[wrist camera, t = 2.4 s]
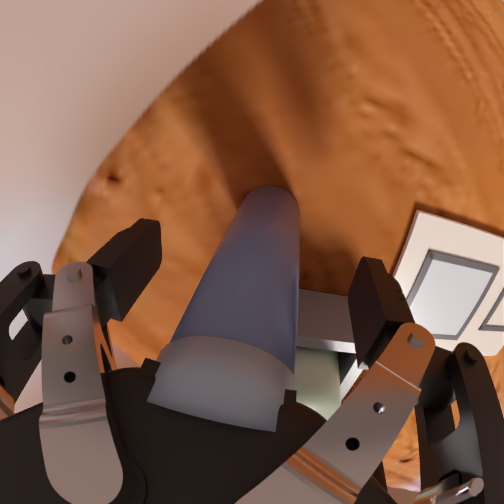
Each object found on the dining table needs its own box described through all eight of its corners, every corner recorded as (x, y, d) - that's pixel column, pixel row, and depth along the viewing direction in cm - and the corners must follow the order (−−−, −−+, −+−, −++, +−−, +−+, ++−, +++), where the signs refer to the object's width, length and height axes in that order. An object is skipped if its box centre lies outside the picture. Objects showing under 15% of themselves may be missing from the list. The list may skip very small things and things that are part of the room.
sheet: (551, 257, 12) (555, 260, 12) (494, 352, 18) (496, 356, 17) (416, 209, 13) (420, 212, 13) (357, 346, 19) (358, 351, 19)
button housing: (366, 299, 17) (377, 345, 13) (334, 365, 20) (336, 407, 17) (259, 281, 17) (249, 327, 14) (248, 352, 21) (238, 394, 17)
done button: (347, 332, 16) (353, 394, 12) (325, 375, 18) (325, 430, 14) (272, 321, 16) (262, 384, 12) (262, 366, 19) (252, 421, 15)
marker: (307, 189, 14) (313, 425, 4) (295, 246, 16) (275, 471, 6) (241, 179, 14) (114, 379, 4) (236, 236, 16) (148, 442, 6)
